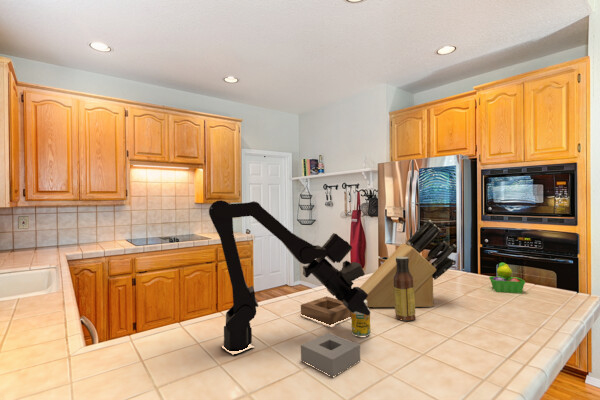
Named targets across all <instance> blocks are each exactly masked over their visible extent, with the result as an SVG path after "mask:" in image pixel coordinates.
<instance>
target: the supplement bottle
mask: <svg viewBox="0 0 600 400" xmlns="http://www.w3.org/2000/svg"><path fill="white" fill-rule="evenodd" d="M364 303H365V304H366V306H367V300H364ZM367 308H368V309H369V311H370V312H371V310H370V307H367ZM350 320H351V334H352V333H353V334H354V335H357V336H368V335H369V336H371V334H370V333H372V332H371V313H370V314H369V315H365V314H362V313H359V312H354V313H352V312H351V319H350ZM353 334H352V335H353ZM354 335H353V336H354ZM369 336H368V337H369Z"/></svg>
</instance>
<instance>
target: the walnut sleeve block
mask: <svg viewBox="0 0 600 400" xmlns="http://www.w3.org/2000/svg"><path fill="white" fill-rule="evenodd" d="M301 314H302V315H305V316H307V317H310V318H313V319H316V320H318V321H321V322H324V323H326V324H329V325H331V324H334V323H336V322H338V321H341V320H344V319H346V318H348V317H351V311H350V310H349V309H348V308H347V307H345V306H344V305H343V302H342V301H340V300H338V299H337V298H333V297H330V296H324V297H320V298H317V299H314V300H312V301H308V302H306V303H305V302H304V303H303V304H302V303H301V304H300V315H301Z"/></svg>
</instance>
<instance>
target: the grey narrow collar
mask: <svg viewBox="0 0 600 400" xmlns="http://www.w3.org/2000/svg"><path fill="white" fill-rule="evenodd" d="M301 360H302V361H304V362H306V363H308V364H310V365H312V366H314V367H315V368H317V369H319V370H321V371H323V372H325V373H327V374H328V375H330V376H332V377H333V376H335V375H337V374H338V373H340V372H342V371H344V370H345V369H347V368H349V367H350V366H352V365H354V364H355V363H357V362H358V361H360V362H361V344H359V343H357V342H354V341H351V340H349V339H346V338H343V337H341V336H339V335H336V334H333V333H330V332H326V333H324V334H322V335H320V336H318V337H315V338H313V339H311V340H309V341H306V342H304V343H302V344H300V361H301ZM358 363H359V362H358ZM358 363H357V364H358ZM355 365H356V364H355ZM355 365H354V366H355ZM352 367H353V366H352ZM350 368H351V367H350ZM350 368H349V369H350ZM347 370H348V369H347ZM345 371H346V370H345ZM345 371H344V372H345ZM342 373H343V372H342ZM328 375H327V376H328ZM330 376H329V377H330ZM337 376H338V375H337ZM332 377H331V378H332Z"/></svg>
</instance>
